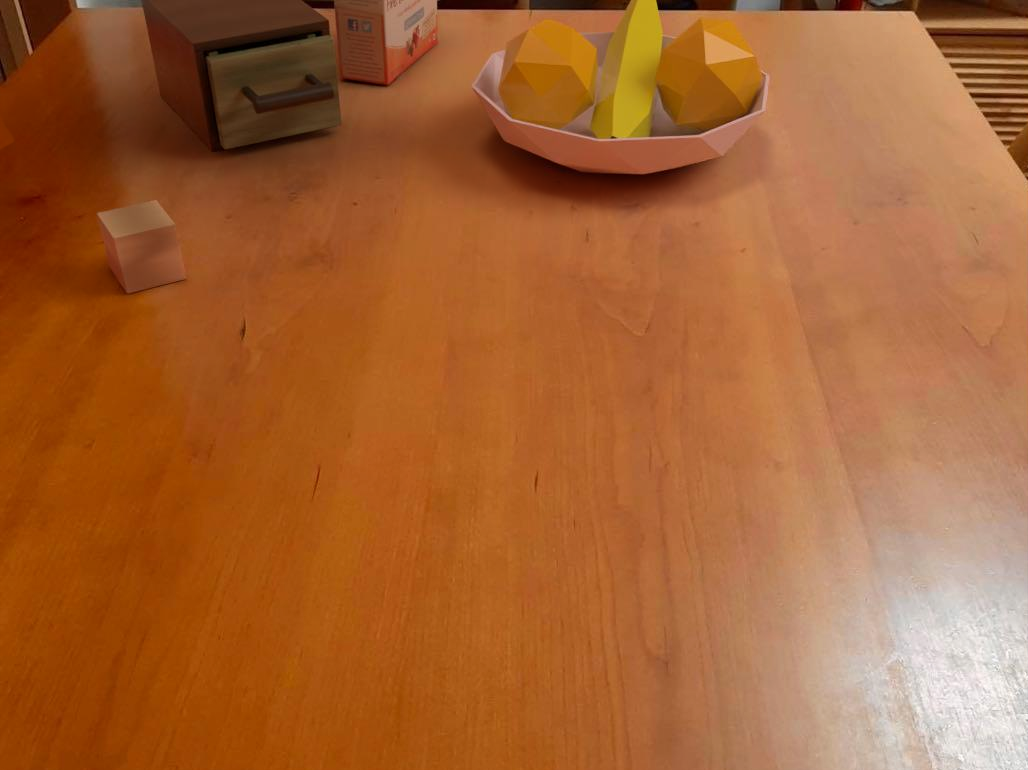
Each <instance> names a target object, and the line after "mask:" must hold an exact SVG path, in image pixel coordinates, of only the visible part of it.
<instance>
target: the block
mask: <svg viewBox="0 0 1028 770" xmlns="http://www.w3.org/2000/svg"><path fill="white" fill-rule="evenodd" d="M96 217H97V221H98V225H99V226H98V227H99V229H100V233H101V237H102V241H103V245H104V249H105V252H106V257H107V261H108V265H109V268H110V270H111V271H112V272H113V274H114V276H115V278H116V280H117V281H118V282H119V284H120V285H121V288H123V290H124V291H125V292H126V294H127V295H128V294H133V293H136V292H140V291H145V290H148V289H152V288H157V287H160V286H165V285H168V284H173V283H176V282H180V281H183V280H184V281H185V280H186V279H187V274H186V270H185V266H184V260H183V256H182V250H181V247H180V246H181V245H180V241H179V236H178V232H177V226H176V223H175V222H174V221H173V219H172V218H171V217H170V216H169V214H168V212H166V210H165V209H164V207H163V206H162V205H161V204H160V203H159V201H158V200H157V199H153V200H149V201H144V202H140V203H136V204H131V205H126V206H121V207H118V208H117V207H116V208H115V209H109V210H104V211H100V212H96Z"/></svg>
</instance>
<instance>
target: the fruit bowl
mask: <svg viewBox="0 0 1028 770" xmlns="http://www.w3.org/2000/svg"><path fill="white" fill-rule="evenodd" d="M658 8H659V7H658V3H657V0H630V1H629V3H628V5H627V7H626V9H625V11H624V13H623V14H622V17H621V19H620V21H619V23H618V24H617V27H616V29H615V30H614V31H597V32H595V31H593V32H579V31H577V30H576V29H575V28H573V27H572V26H569V25H567V24H564V23H562V22H559V21H557V20H553V19H550V18H546V19H544V20H542V21H540V22H539V23H537V24H535V25H533V26H532V27H530V28H528V29H527V30H525V31H523V32H521V33H520V34H518V35H516V36H515V37H513V38H511V39H510V40H508V41H507V42H506V47H505V49H503V50H499V51H497V52H493V53H491V54H490V56H489V58H488V59H487V61H486V62H485V64H484V65H483V67H482V68H481V70H480V72H479V73H478V75H477V77H476V78H475V79H474V81H473V82H472V84H471V85H470V87H471V89H472V90H473V92H474V94H475V96H476V97H477V98H478V100H479V102H480V104H481V105H482V107H483V109H484V110H485V112H486V113H487V115H488V117H489V118H490V120H491V121H492V123H493V125H494V126H495V129H496V130H497V132H498V134H499V135H500V137H501V138H502V140H503V141H504V142H505V143H508V144H510V145H513V146H515V147H518V148H520V149H523V150H525V151H527V152H530V153H532V154H534V155H537V156H538V157H542V158H543V159H546V160H549V161H551V162H552V163H556V164H559V165H561V166H564V167H567V168H569V169H573V170H574V171H575V170H576V171H578V172H581V173H591V174H593V173H594V174H619V175H620V174H623V175H625V174H626V175H647V174H653V173H658V172H662V171H664V172H665V171H669V170H674V169H677V168H678V169H679V168H683V167H686V166H690V165H694V164H698V163H701V162H705V161H709V160H713V159H717V158H719V157H723V156H724V155H725V154H726V153H727V152H728V151H729V150H730V149H731V148H732V147H733V146H734V145H735V144H736V142H738V141H739V140H740V139H741V138H742V137H743V136H744V135H745V134H746V133H747V131H748V130H749V129H751V128H752V127H753V125H754V124H755V123H756V122H757V121H758V120H759V118H760V117H761V116H762V115H763V114H764V113H765V112H766V108H767V102H768V101H767V100H768V95H769V86H770V77H771V75H770V74H768V73H767V72H765V71H764V70H761V69H760V66H759V63H758V60H757V58H756V54H755V53H754V52H753V50H752V49H751V48H750V46H749V44H748V43H747V41H746V40H745V39H744V36H743V35H742V33H741V32H740V31H739V29H738V27H737V25H736V24H735V23H734V21H733V20H731V19H720V18H711V17H700V18H699V19H697V20H696V21H695V22H694V23H693V24H691V25H690V26H689V27H688V28H686V29H685V30H683V32H682V33H681V34H679V35H678V36H677V37H676V36H672V35H671V36H670V35H665V34H664V32H663V27H662V22H661V18H660V12H659V9H658Z"/></svg>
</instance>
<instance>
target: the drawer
mask: <svg viewBox="0 0 1028 770" xmlns="http://www.w3.org/2000/svg"><path fill="white" fill-rule="evenodd" d="M335 52H336V51H335V41H334V38H333V37H331V35H330V36H329V35H326V36H320V37H316V36H315V34H314V33H313V32H310V33H305V34H299V35H293V36H288V37H282V38H277V39H271V40H265V41H260V42H254V43H248V44H243V45H237V46H232V47H226V48H220V49H215V50H209V51H204V58H205V64H206V70H207V76H208V82H209V88H210V94H211V99H212V105H213V111H214V117H215V123H216V128H217V129H218V133H219V139H220V145H221V146H222V147H223V148H224V149H223V150H229V149H234V148H239V147H244V146H248V145H253V144H258V143H262V142H268V141H272V140H276V139H281V138H286V137H290V136H291V137H292V136H295V135H300V134H304V133H310V132H314V131H319V130H324V129H329V128H333V127H338V126H342V115H341V103H340V95H339V94H340V93H339V82H338V73H337V72H338V71H337V62H336V53H335Z"/></svg>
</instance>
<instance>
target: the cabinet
mask: <svg viewBox="0 0 1028 770" xmlns="http://www.w3.org/2000/svg"><path fill="white" fill-rule="evenodd" d="M141 5H142V9H143V14H144V21H145V25H146V29H147V34H148V40H149V45H150V50H151V55H152V60H153V65H154V70H155V75H156V80H157V84H158V90H159V91H158V92H159V95H160V97H161V98H162V99H163V100H164V101H165V102H166V103H167V104H168V106H170V108H171V109H172V110H173V111H174V112H175V113H176V114H177V115H178V117H180V118H181V119H182V121H183V122H184V123H185V124H186V125H187V126H188V127H189V128H190V130H192V132H193V133H194V134H195V135H196V136H197V138H199V139H200V140H201V141H202V142H203V144H204V145H205V146H206V147H207V148H208V149H209V150H210V151H211V152H217V151H222V150H225V149H224V148H223V147H222V146H221V145H220V139H219V133H218V129H217V128H216V123H215V117H214V111H213V105H212V99H211V94H210V88H209V82H208V76H207V70H206V64H205V58H204V51H209V50H215V49H220V48H226V47H232V46H237V45H243V44H248V43H254V42H260V41H265V40H271V39H277V38H282V37H288V36H293V35H299V34H305V33H310V32H313V33H314V34H315V36H316V37H320V36H326V35H329V36H330V37H331V31H330V29H331V27H330V20H329V19H328V18H327V17H325V16H324V15H322V14H321V13H320V12H319V11H317V10H316V9H315V8H313V7H311V6H310V5H309V4H308V3H306V2H305V1H303V0H141Z"/></svg>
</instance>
